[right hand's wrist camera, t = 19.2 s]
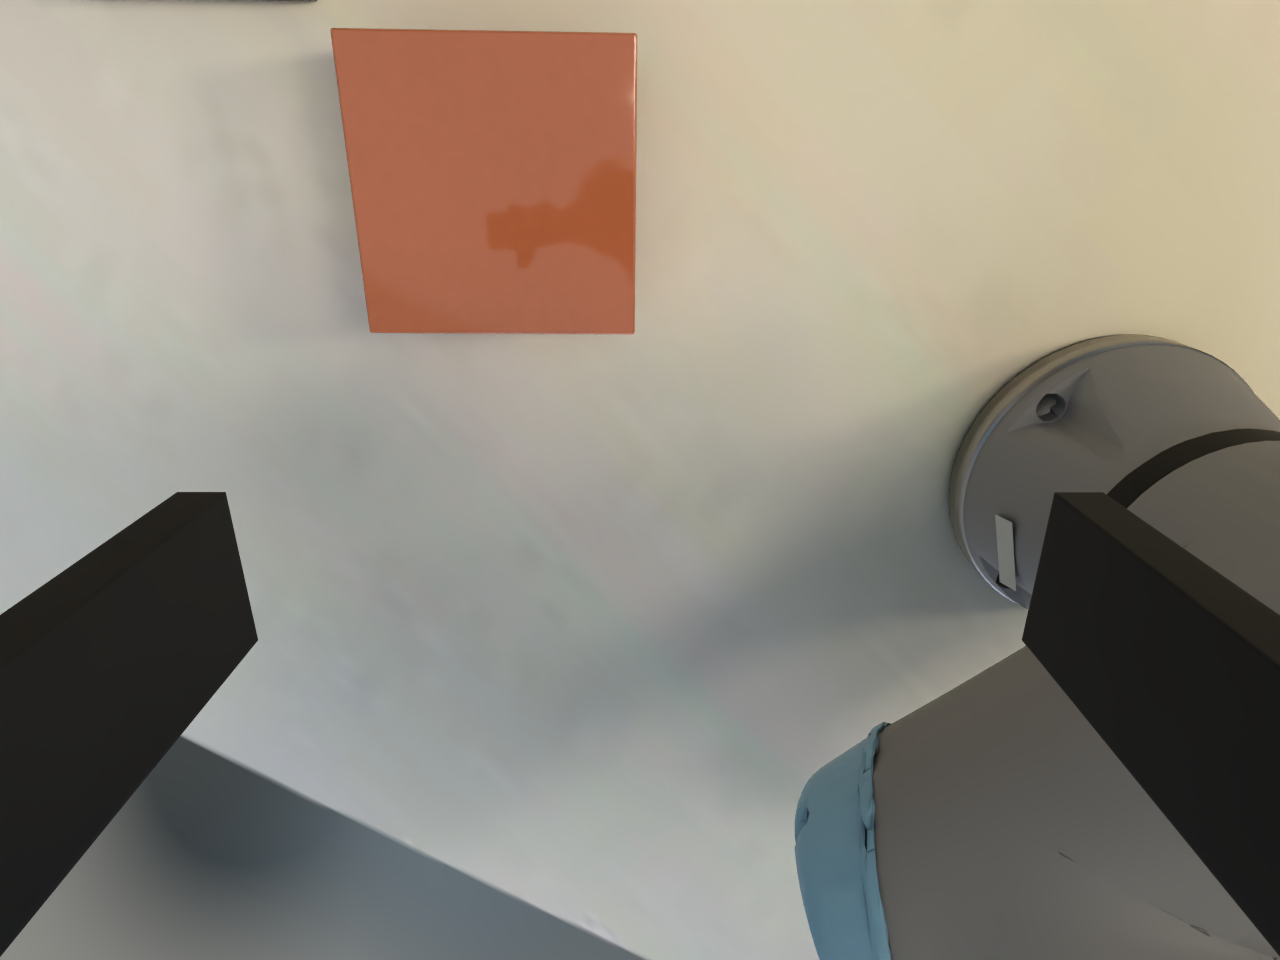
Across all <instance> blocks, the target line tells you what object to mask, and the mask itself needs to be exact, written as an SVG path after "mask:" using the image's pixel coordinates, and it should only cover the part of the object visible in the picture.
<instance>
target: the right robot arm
mask: <svg viewBox="0 0 1280 960" xmlns="http://www.w3.org/2000/svg"><path fill="white" fill-rule="evenodd" d="M949 510H950V518H951V523H952V527H953V530H954V533H955V536H956V539H957V541H958V543H959V545H960V547H961V549H962V551H963V552H964V554H965V555H966V557H967V558H968V559H969V561H970V562H971V563H972V564H973V566H974V567H975V568H976V569H977V570H978V572H979V573H980V574H981V575H982V576H983V578H984V579H985V580H986V581H987V582H988V583H989V584H990V585H991V586H992V587H993V588H994V589H995V590H996V591H998V592H999V593H1000V594H1002V595H1003V596H1004V597H1006V598H1008V599H1009V600H1011V601H1013V602H1014V603H1016V604H1019V605H1021V606H1023V607H1025V608H1027V609H1029V610H1028V615H1027V619H1026V624H1025V628H1024V633H1023V638H1022V641H1023V642H1024V643H1025V644H1026V646H1025V647H1024V648H1022V649H1020V650H1019V651H1017V652H1015V653H1014V654H1012V655H1010V656H1008V657H1007V658H1005V659H1003V660H1002V661H1000V662H998V663H997V664H995V665H993V666H992V667H990V668H988V669H986V670H985V671H983V672H981V673H980V674H978V675H976V676H975V677H973V678H971V679H970V680H968V681H966V682H964V683H963V684H961V685H959V686H958V687H956V688H954V689H953V690H951V691H949V692H947V693H946V694H944V695H942V696H940V697H939V698H937V699H935V700H933V701H932V702H930V703H928V704H926V705H924V706H923V707H921V708H919V709H917V710H916V711H914V712H912V713H910V714H908V715H907V716H905V717H903V718H901V719H900V720H898V721H896V722H894V723H893V724H890V723H885V722H883V723H881V724H879V725H877V726H876V727H874V728H873V729H872V730H871V731H870V733H869V735H868V737H867V738H866V739H864V740H863V741H861V742H860V743H858V744H857V745H855V746H854V747H852V748H851V749H849V750H848V751H846V752H845V753H843V754H842V755H840V756H839V757H837V758H835V759H834V760H832V761H831V762H829V763H828V764H826V765H825V766H823V767H822V768H821V769H819V770H818V771H817V772H816V773H815V774H813V776H812V777H811V778H810V779H809V780H808V782H807V783H806V785H805V787H804V789H803V791H802V793H801V796H800V799H799V801H798V805H797V811H796V817H795V840H796V846H795V856H796V865H797V872H798V878H799V884H800V889H801V894H802V899H803V904H804V908H805V911H806V915H807V919H808V923H809V927H810V931H811V934H812V937H813V941H814V944H815V947H816V950H817V953H818V956H819V959H820V960H1280V420H1279V419H1278V418H1277V417H1276V415H1275V414H1274V413H1273V412H1272V411H1271V410H1270V409H1269V408H1268V407H1267V406H1266V405H1265V404H1264V403H1263V402H1262V401H1261V400H1260V399H1259V398H1258V397H1257V396H1256V395H1255V394H1254V392H1253V391H1252V389H1251V388H1250V387H1249V385H1248V384H1247V383H1246V382H1245V381H1244V380H1243V379H1242V378H1241V377H1240V376H1239V375H1238V374H1237V373H1236V372H1235V371H1234V370H1233V369H1232V368H1230V367H1229V366H1228V365H1226V364H1225V363H1224V362H1222V361H1220V360H1219V359H1217V358H1215V357H1213V356H1211V355H1209V354H1207V353H1204V352H1202V351H1199V350H1197V349H1194V348H1191V347H1188V346H1186V345H1183V344H1180V343H1177V342H1174V341H1171V340H1167V339H1164V338H1159V337H1153V336H1147V335H1115V336H1108V337H1101V338H1097V339H1092V340H1088V341H1084V342H1081V343H1078V344H1075V345H1072V346H1069V347H1067V348H1064V349H1062V350H1060V351H1057V352H1055V353H1053V354H1051V355H1049V356H1047V357H1045V358H1043V359H1042V360H1040V361H1038V362H1037V363H1035V364H1033V365H1032V366H1030V367H1029V368H1027V369H1026V370H1024V371H1023V372H1022V373H1020V374H1019V375H1018V376H1016V377H1015V378H1014V379H1013V380H1011V381H1010V382H1009V383H1008V384H1007V385H1006V386H1005V387H1003V388H1002V389H1001V390H1000V391H999V392H998V393H997V394H996V395H995V396H994V397H993V399H992V400H991V401H990V402H989V403H988V404H987V405H986V407H985V408H984V409H983V410H982V412H981V413H980V414H979V416H978V417H977V419H976V420H975V421H974V423H973V424H972V426H971V428H970V430H969V431H968V433H967V435H966V437H965V438H964V441H963V443H962V445H961V447H960V449H959V452H958V455H957V457H956V460H955V463H954V467H953V471H952V475H951V481H950V488H949ZM257 641H258V638H257V633H256V628H255V624H254V619H253V615H252V610H251V606H250V601H249V597H248V592H247V587H246V583H245V578H244V574H243V569H242V565H241V560H240V556H239V551H238V547H237V542H236V537H235V533H234V528H233V524H232V519H231V515H230V510H229V506H228V501H227V496H226V492H177V493H175V494H174V495H172V496H171V497H170V498H168V499H167V500H165V501H164V502H162V503H161V504H160V505H158V506H157V507H155V508H154V509H152V510H151V511H149V512H148V513H147V514H145V515H144V516H142V517H141V518H139V519H138V520H136V521H135V522H134V523H132V524H131V525H129V526H128V527H126V528H125V529H124V530H122V531H121V532H119V533H118V534H116V535H115V536H113V537H112V538H111V539H109V540H108V541H106V542H105V543H103V544H102V545H100V546H99V547H98V548H96V549H95V550H93V551H92V552H90V553H89V554H87V555H86V556H85V557H83V558H82V559H80V560H79V561H77V562H76V563H75V564H73V565H72V566H70V567H69V568H67V569H66V570H64V571H63V572H62V573H60V574H59V575H57V576H56V577H54V578H53V579H51V580H50V581H49V582H47V583H46V584H44V585H43V586H41V587H40V588H39V589H37V590H36V591H34V592H33V593H31V594H30V595H28V596H27V597H26V598H24V599H23V600H21V601H20V602H18V603H17V604H15V605H14V606H13V607H11V608H10V609H8V610H7V611H5V612H4V613H3V614H1V615H0V956H1V955H2V954H3V953H4V951H5V950H6V949H7V948H8V947H9V945H10V944H11V943H12V942H13V940H14V939H15V938H16V937H17V936H18V934H19V933H20V932H21V931H22V929H23V928H24V927H25V926H26V924H27V923H28V922H29V921H30V920H31V918H32V917H33V916H34V915H35V913H36V912H37V911H38V910H39V908H40V907H41V906H42V905H43V904H44V902H45V901H46V900H47V899H48V897H49V896H50V895H51V894H52V893H53V891H54V890H55V889H56V888H57V886H58V885H59V884H60V883H61V881H62V880H63V879H64V878H65V877H66V875H67V874H68V873H69V872H70V870H71V869H72V868H73V867H74V866H75V864H76V863H77V862H78V861H79V859H80V858H81V857H82V856H83V854H84V853H85V852H86V851H87V849H88V848H89V847H90V846H91V845H92V843H93V842H94V841H95V840H96V839H97V837H98V836H99V835H100V834H101V832H102V831H103V830H104V829H105V827H106V826H107V825H108V824H109V823H110V821H111V820H112V819H113V818H114V816H115V815H116V814H117V813H118V811H119V810H120V809H121V808H122V807H123V805H124V804H125V803H126V802H127V800H128V799H129V798H130V797H131V796H132V794H133V793H134V792H135V791H136V789H137V788H138V787H139V786H140V784H141V783H142V782H143V781H144V780H145V778H146V777H147V776H148V775H149V773H150V772H151V771H152V770H153V768H154V767H155V766H156V765H157V763H158V762H159V761H160V760H161V759H162V757H163V756H164V755H165V754H166V752H167V751H168V750H169V749H170V748H171V746H172V745H173V744H174V743H175V741H176V740H177V739H178V738H179V737H180V735H181V734H182V733H183V732H184V730H185V729H186V728H187V727H188V726H189V724H190V723H191V722H192V721H193V719H194V718H195V717H196V716H197V714H198V713H199V712H200V711H201V710H202V708H203V707H204V706H205V705H206V703H207V702H208V701H209V700H210V698H211V697H212V696H213V695H214V694H215V692H216V691H217V690H218V689H219V687H220V686H221V685H222V684H223V683H224V681H225V680H226V679H227V678H228V676H229V675H230V674H231V673H232V671H233V670H234V669H235V668H236V667H237V665H238V664H239V663H240V662H241V660H242V659H243V658H244V657H245V656H246V654H247V653H248V652H249V651H250V649H251V648H252V647H253V646H254V644H255V643H256V642H257Z"/></svg>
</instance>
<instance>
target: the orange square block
mask: <svg viewBox="0 0 1280 960" xmlns="http://www.w3.org/2000/svg"><path fill="white" fill-rule="evenodd" d="M331 38H332V46H333V54H334V61H335V69H336V76H337V84H338V92H339V99H340V107H341V115H342V122H343V130H344V137H345V145H346V153H347V160H348V168H349V176H350V183H351V191H352V198H353V206H354V214H355V221H356V229H357V237H358V244H359V252H360V259H361V267H362V275H363V282H364V290H365V298H366V305H367V313H368V320H369V328H370V332H372V333H482V334H634V332H635V223H636V110H637V34H635V33H603V32H543V31H483V30H422V29H362V28H332V29H331Z"/></svg>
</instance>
